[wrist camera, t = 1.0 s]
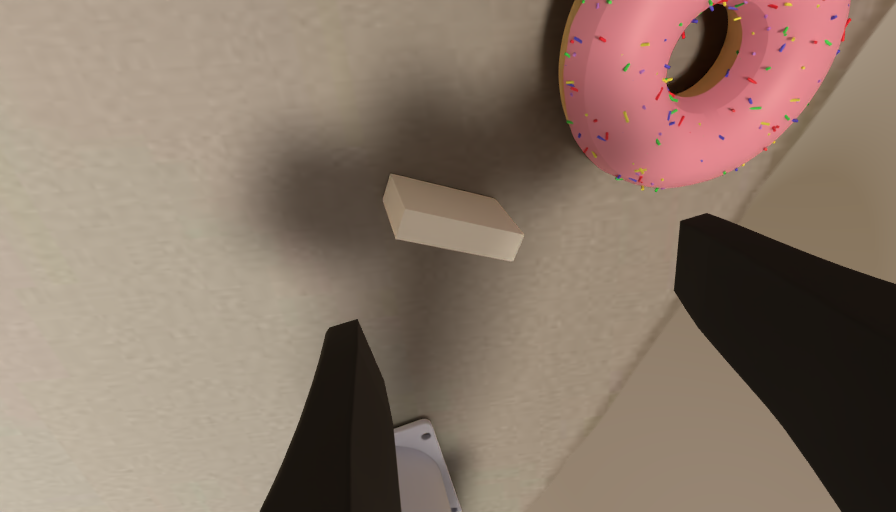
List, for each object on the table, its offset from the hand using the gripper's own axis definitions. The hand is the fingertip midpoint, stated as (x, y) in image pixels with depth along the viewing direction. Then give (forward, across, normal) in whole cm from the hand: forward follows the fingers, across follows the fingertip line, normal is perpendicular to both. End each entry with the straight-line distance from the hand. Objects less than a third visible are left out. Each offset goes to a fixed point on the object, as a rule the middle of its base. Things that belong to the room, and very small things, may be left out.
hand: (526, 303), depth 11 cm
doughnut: (+12, -10, 0) cm, 16 cm away
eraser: (+12, 0, +4) cm, 12 cm away
